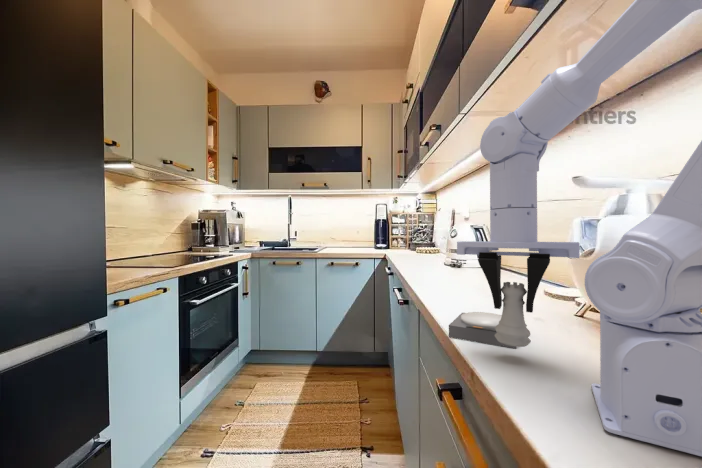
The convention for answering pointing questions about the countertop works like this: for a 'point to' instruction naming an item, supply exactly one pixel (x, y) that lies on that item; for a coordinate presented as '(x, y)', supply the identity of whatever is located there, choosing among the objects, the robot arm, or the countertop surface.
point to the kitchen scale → (476, 327)
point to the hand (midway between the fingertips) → (513, 309)
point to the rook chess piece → (513, 317)
